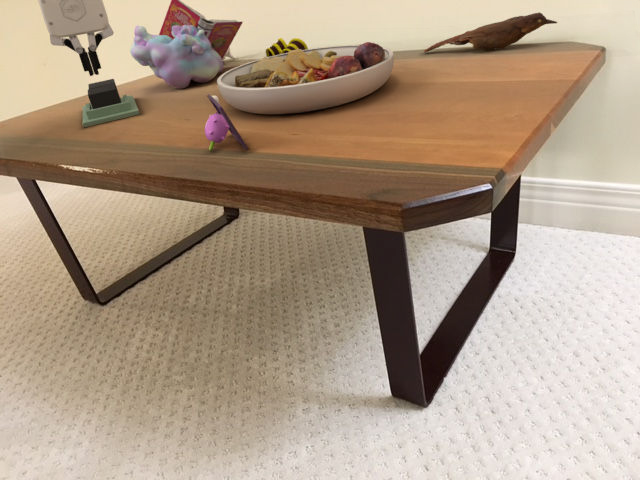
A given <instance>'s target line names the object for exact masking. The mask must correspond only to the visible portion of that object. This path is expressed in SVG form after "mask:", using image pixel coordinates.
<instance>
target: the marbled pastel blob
mask: <svg viewBox="0 0 640 480" xmlns="http://www.w3.org/2000/svg"><path fill="white" fill-rule="evenodd" d="M167 8H168V9H167V11H166V14H165V17H164V20H163V22H162V24H161V28H160V31H159V34H151V33H149V32H148V30H147V28H146V27H145V26H143V25H135V27H134V33H133V34H134V36H133V42H132V44H131V47H130V50H129V51H130V54H131V56H132V59H134V60H135V61H136V62H137V63H138V64H139V65H141V66H143V67H149V68H150V69H151V71H152V72H153V74H154V76H155V77H157V78H159V79H161V80H163V81H164V82H165V83H166V84H167V85H168V86H170V87H172V88H175V89H179V90H180V89H186V88H187V87H188V86H189V85H190V82H191V81H193V82H195V83H201V84H206V83H208V82H210V81H211V80H212V79H214V78H215V77H216V76H217V74H220V73H222V72H223V71H224V60H222V59H223V57H224V55H225V54H226V52H227V50H228V48H229V47H230V46H231V45H232V43H233V41H234V39H235V37H236V35H237V34H238V31H239V30H240V28H241V26H242V25H243V22H244V21H238V20H236V19H213V18H212V19H207V18H206V16H205V15H204V14H202V13H200V12H199V11H198V10H195V9H194V8H193V7H190V6H189V5H187V4H186V3H185V2H183V1H181V0H170V3H169V6H168V7H167Z"/></svg>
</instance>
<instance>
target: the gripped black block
mask: <svg viewBox="0 0 640 480" xmlns="http://www.w3.org/2000/svg"><path fill="white" fill-rule="evenodd" d="M115 84H116V83H115ZM115 84H111V85H107V86H102V87H98V88H93V89H89V88H88V89H87V97H88V100H89V103H90V104H91V106H92V108H93V109H97V108H101V107H105V106H110V105H114V104H119V103H121V102H120V99H119V96H120V95H119V96H118V93H119V92H118V93H117V90H118V89H117V90H116V87H117V86H116V87H115Z"/></svg>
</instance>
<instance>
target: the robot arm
mask: <svg viewBox="0 0 640 480" xmlns="http://www.w3.org/2000/svg"><path fill="white" fill-rule="evenodd" d="M37 1H38V4H39V7H40V11H41V15H42V18H43V20H44V24H45V26H46V29H47V32H48V34H49V41H50V44H51V45H52V46H59V47H67V48H68V49H70V50H71V51H74V52H75V53H76V54H78V56H79V59H80V62H81V66H82V69H83V71H84V72H85V73H87V72H88V75H89V77H93V76H94V75H96V76H97V75H100V72H99V70H100V69H102V66H101V63H100V58H99V56H98V52H97V49H98V47H99V46H100V44H101V42H102V41H103V40H105V39H107V38H110V37H111V36H113V35H114V30H113V28H112V27H111V25H110V22H109V21H110V20H109V18H108V13H107V10H106V7H105V5H104V1H103V0H37ZM81 35H87V40H88V47H87V50H88V51H86V49H85V47H83V46H82V43H81V41H80V39H79V38H78V37H79V36H81Z"/></svg>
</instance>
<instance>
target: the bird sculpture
mask: <svg viewBox="0 0 640 480" xmlns="http://www.w3.org/2000/svg"><path fill="white" fill-rule="evenodd" d="M551 24H552V25H553V24H558V21H557V20H556V21H555V20H551V19H547V17H546V16H545V15H544V14H543V13H542V12H534V13H531V14H527V15H518V16H513V17H510V18H507V19H504V20H502V21H498V22H492V23H489V24H485V25H482V26H478V27H476V28H475V29H472V30H467V31H465V32H464V33H461V34H457V35H455V36H453V37H449V38H447V39H444V40H441V41H438V42H436V43H434V44H433V45H430V46H429V47H427V48H426V49H424V51H423V53H425V54H426V53H427V52H430V51H433V50H435V49H438V48H440V47H443V46H445V45H447V44H449V45H454V46H464V45H467V44H471V45H472V48H473V49H475V50H478V51H479V50H483V51H493V50H501V49H502V50H503V49H505V48H507V47H509V46H511V45H513V44H516V43H518V42H519V41H520V40H521V39H523V38H524V37H525V36H526V35H529V34H531V33H532V32H534V31H536V30H539V28H541V27H543V26H545V25H551Z"/></svg>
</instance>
